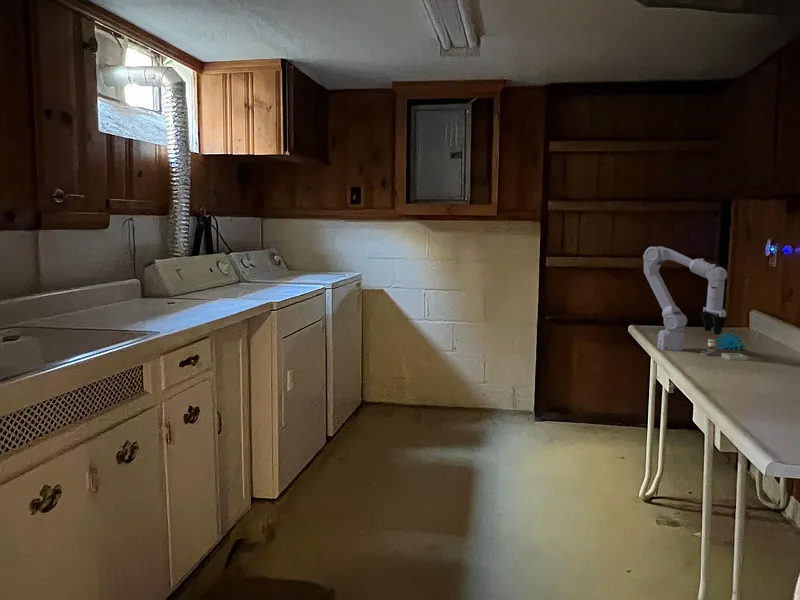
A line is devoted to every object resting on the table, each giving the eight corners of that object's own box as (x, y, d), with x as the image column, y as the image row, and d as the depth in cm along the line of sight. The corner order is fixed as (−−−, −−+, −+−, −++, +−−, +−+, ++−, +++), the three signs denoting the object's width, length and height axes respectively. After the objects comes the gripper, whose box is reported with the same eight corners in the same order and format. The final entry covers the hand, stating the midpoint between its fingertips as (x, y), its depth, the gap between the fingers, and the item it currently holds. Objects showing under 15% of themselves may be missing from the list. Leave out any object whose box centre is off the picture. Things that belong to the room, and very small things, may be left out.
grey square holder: (705, 358, 263) (705, 353, 263) (698, 355, 269) (699, 350, 269) (722, 359, 263) (722, 353, 263) (715, 356, 269) (715, 350, 269)
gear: (714, 347, 278) (719, 328, 283) (712, 355, 283) (717, 337, 288) (743, 354, 273) (748, 335, 278) (741, 362, 278) (745, 343, 283)
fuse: (708, 355, 265) (709, 340, 264) (705, 353, 267) (706, 339, 267) (715, 355, 265) (717, 340, 264) (712, 353, 267) (713, 339, 267)
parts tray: (729, 362, 256) (729, 356, 256) (721, 359, 262) (721, 353, 262) (747, 363, 257) (747, 356, 256) (739, 359, 263) (739, 353, 262)
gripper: (734, 300, 256) (731, 336, 258) (716, 296, 271) (713, 329, 272) (716, 300, 256) (713, 335, 258) (698, 295, 270) (696, 329, 272)
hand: (712, 332), depth 265 cm, fingers open, 7 cm apart
